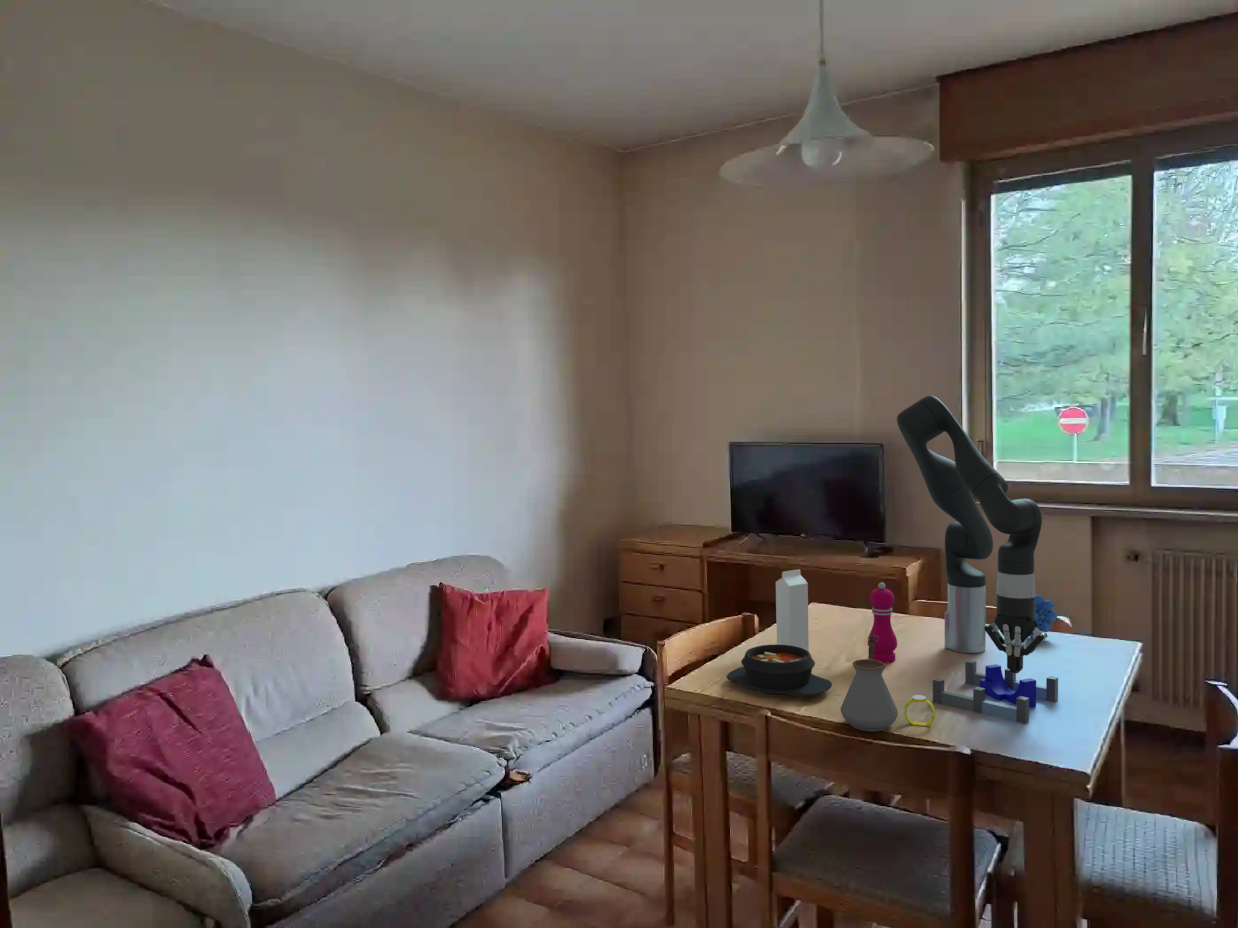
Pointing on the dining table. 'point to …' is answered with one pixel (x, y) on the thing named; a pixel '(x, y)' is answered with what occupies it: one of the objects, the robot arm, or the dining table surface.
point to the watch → (920, 700)
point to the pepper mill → (883, 624)
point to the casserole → (779, 671)
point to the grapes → (1044, 614)
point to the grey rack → (989, 707)
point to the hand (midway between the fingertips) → (1015, 671)
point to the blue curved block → (1007, 687)
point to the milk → (792, 610)
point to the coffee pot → (869, 696)
